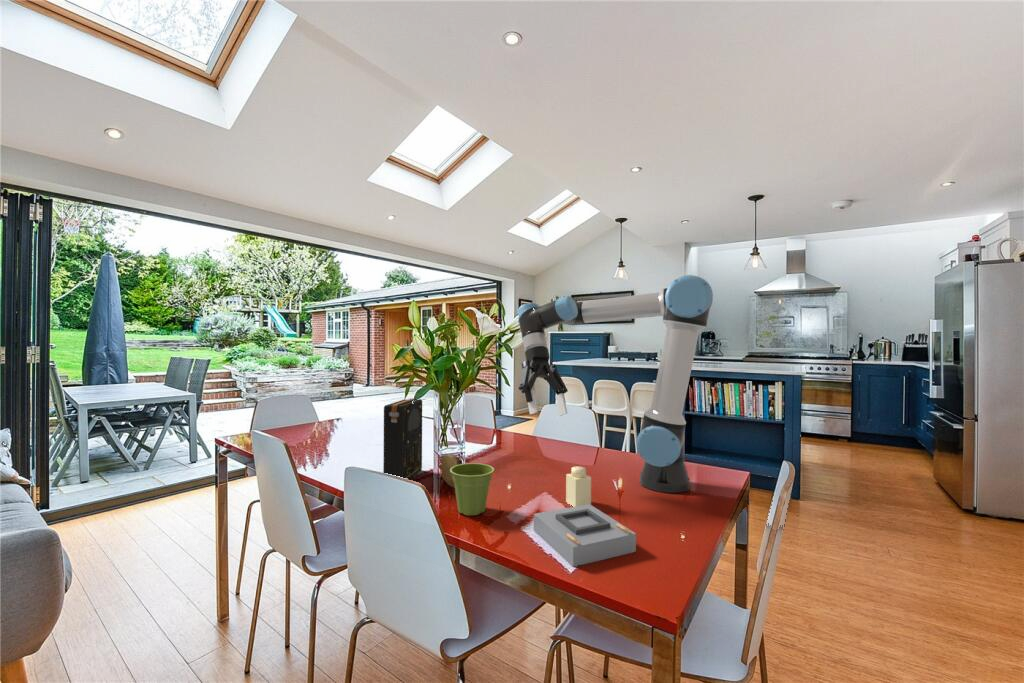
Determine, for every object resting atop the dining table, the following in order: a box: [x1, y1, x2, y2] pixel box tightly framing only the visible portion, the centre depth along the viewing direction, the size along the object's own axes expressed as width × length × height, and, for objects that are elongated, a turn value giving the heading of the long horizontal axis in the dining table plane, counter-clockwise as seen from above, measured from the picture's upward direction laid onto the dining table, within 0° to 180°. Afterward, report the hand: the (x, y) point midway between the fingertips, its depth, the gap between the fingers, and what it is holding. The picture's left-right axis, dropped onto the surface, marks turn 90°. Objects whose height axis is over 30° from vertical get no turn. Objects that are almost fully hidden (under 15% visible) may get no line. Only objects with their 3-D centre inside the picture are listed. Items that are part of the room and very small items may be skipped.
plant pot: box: [450, 462, 495, 517], centre depth 116 cm, size 12×12×11 cm
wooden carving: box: [438, 453, 464, 489], centre depth 135 cm, size 16×5×10 cm, turn 43°
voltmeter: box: [382, 398, 423, 480], centre depth 144 cm, size 16×9×25 cm, turn 168°
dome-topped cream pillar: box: [565, 465, 592, 507], centre depth 121 cm, size 5×5×10 cm
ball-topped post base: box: [533, 504, 637, 568], centre depth 100 cm, size 16×18×5 cm
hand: (549, 413), depth 131 cm, fingers open, 13 cm apart
